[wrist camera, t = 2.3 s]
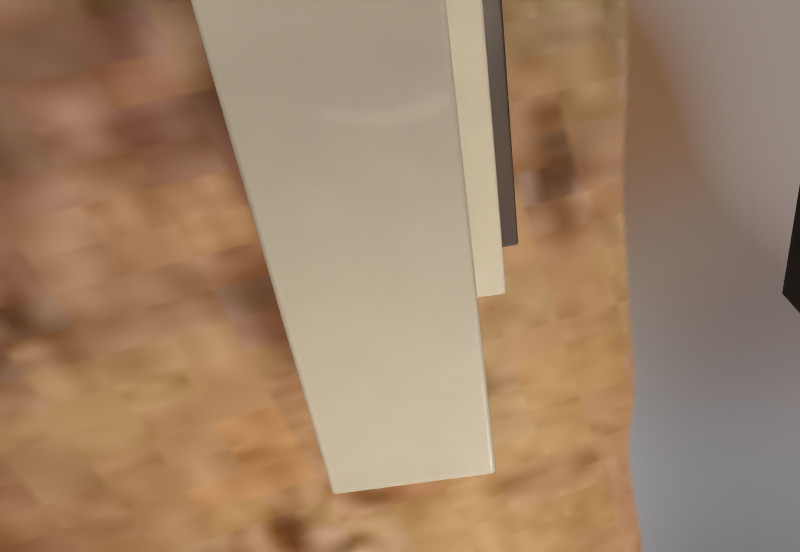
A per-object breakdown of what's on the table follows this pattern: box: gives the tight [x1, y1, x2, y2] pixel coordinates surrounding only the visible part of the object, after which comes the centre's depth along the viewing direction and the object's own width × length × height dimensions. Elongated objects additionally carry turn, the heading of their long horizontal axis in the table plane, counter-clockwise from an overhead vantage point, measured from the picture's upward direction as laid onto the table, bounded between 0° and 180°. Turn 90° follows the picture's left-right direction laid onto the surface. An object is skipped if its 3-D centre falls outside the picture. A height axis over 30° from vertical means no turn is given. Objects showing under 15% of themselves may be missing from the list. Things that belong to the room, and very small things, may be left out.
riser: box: [482, 0, 518, 247], centre depth 21 cm, size 11×7×5 cm, turn 8°
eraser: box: [190, 0, 506, 494], centre depth 15 cm, size 11×6×9 cm, turn 8°
